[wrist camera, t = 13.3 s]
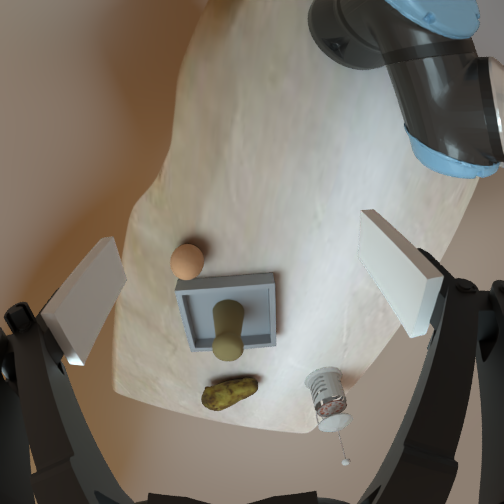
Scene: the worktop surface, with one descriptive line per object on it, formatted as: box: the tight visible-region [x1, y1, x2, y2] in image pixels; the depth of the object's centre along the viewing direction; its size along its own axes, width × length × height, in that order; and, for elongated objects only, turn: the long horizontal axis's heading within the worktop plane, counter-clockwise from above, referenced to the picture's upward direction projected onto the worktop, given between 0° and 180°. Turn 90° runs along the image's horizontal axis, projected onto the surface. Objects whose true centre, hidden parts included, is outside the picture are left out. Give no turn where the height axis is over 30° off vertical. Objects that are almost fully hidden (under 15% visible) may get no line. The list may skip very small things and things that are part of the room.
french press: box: [305, 367, 353, 465], centre depth 57 cm, size 10×12×25 cm
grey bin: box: [175, 272, 276, 352], centre depth 54 cm, size 17×15×4 cm
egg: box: [170, 244, 204, 280], centre depth 46 cm, size 5×5×7 cm
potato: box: [201, 377, 258, 411], centre depth 62 cm, size 8×13×8 cm, turn 81°
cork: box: [212, 299, 244, 361], centre depth 50 cm, size 6×6×11 cm
